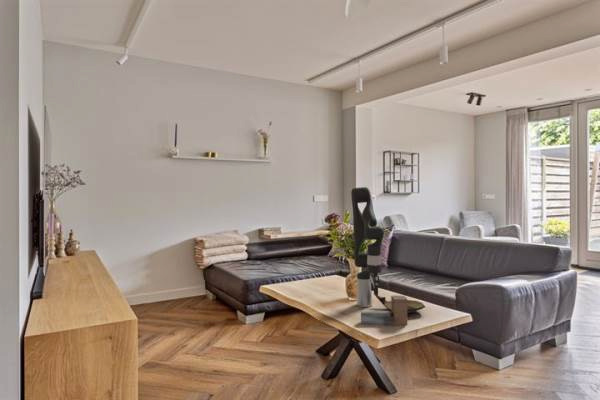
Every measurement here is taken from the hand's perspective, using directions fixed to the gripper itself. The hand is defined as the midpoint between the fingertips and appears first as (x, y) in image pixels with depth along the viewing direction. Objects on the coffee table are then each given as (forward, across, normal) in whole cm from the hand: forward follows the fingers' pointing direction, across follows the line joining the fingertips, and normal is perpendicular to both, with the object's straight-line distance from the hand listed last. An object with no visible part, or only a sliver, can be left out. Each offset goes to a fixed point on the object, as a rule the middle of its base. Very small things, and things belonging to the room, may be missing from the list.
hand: (374, 292), depth 215 cm
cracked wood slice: (+17, -22, +19) cm, 34 cm away
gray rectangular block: (+17, 0, +1) cm, 17 cm away
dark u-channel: (+17, 0, +11) cm, 20 cm away
